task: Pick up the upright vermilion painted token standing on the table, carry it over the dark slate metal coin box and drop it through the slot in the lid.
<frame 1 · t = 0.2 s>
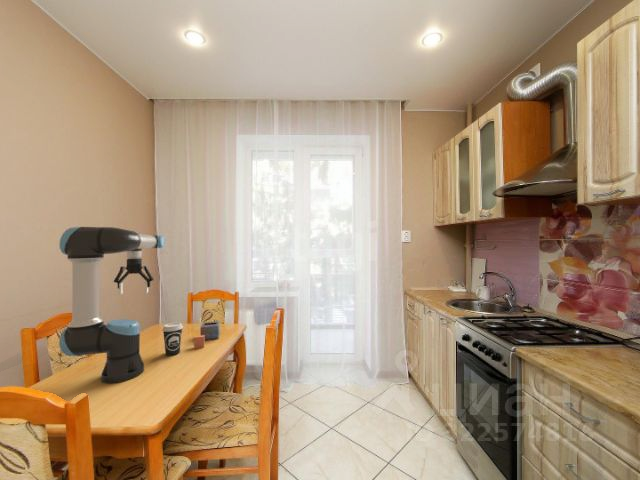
hand: (134, 293, 160), 28 cm above the table, fingers open, 13 cm apart
token: (199, 347, 147), on the table
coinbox: (210, 336, 163), on the table
coffee cup: (172, 353, 138), on the table
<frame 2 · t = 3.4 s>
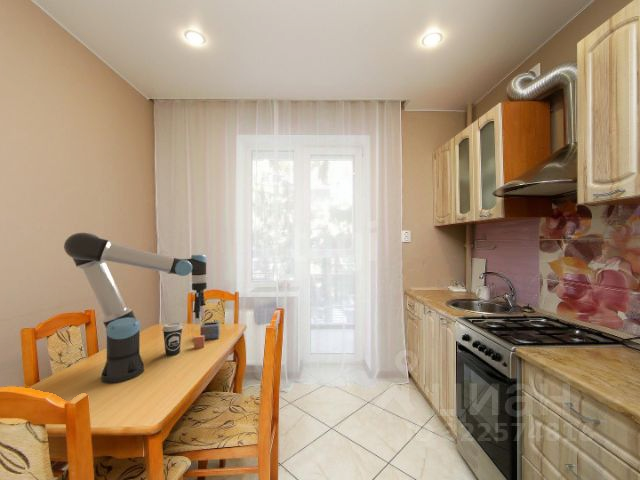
hand: (199, 320, 147), 15 cm above the table, fingers open, 13 cm apart
nothing on the table moved.
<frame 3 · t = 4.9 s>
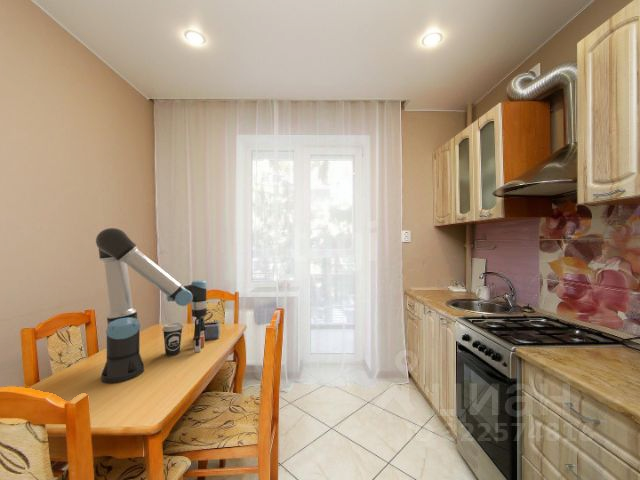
hand: (199, 346, 147), 0 cm above the table, fingers open, 13 cm apart
nothing on the table moved.
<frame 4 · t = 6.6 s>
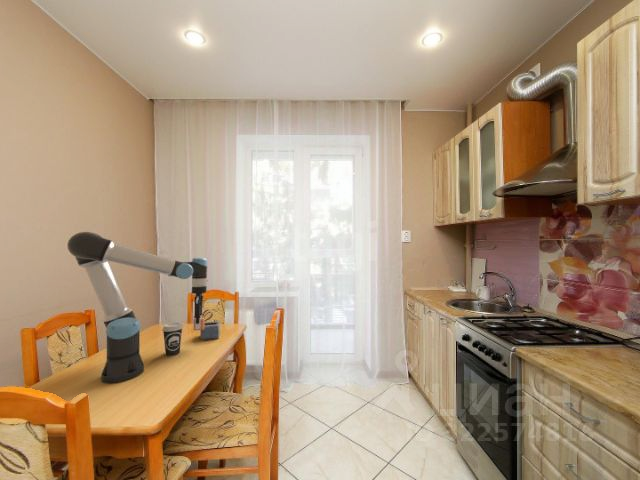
hand: (198, 328, 146), 10 cm above the table, fingers closed on token, 2 cm apart
token: (198, 329, 146), point 10 cm above the table, touching gripper
everything else where it was.
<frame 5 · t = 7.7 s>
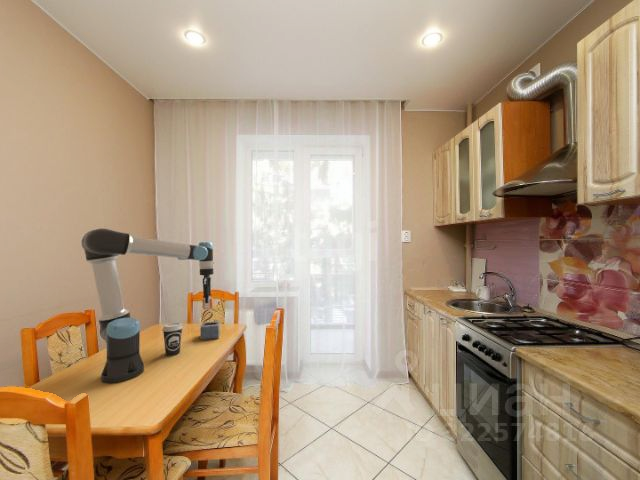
hand: (207, 307, 157), 20 cm above the table, fingers closed on token, 2 cm apart
token: (208, 308, 157), point 19 cm above the table, touching gripper
everything else where it was.
when the fingers open (10 cm above the table, at t = 9.2 s): token drops 8 cm, resting on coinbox.
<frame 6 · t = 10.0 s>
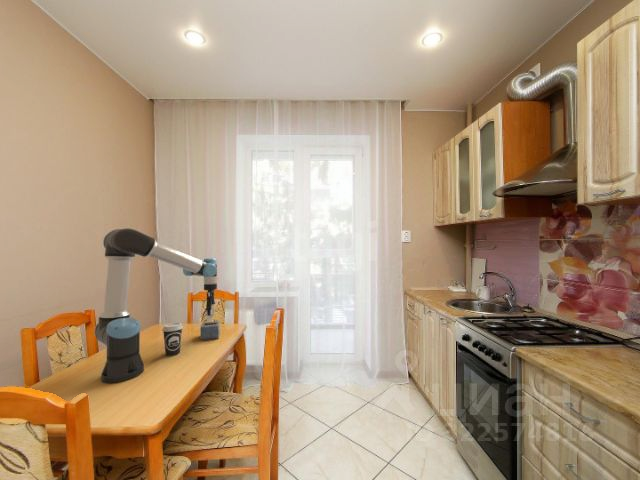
hand: (210, 317, 163), 12 cm above the table, fingers open, 13 cm apart
token: (211, 335, 163), point 1 cm above the table, touching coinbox
everything else where it was.
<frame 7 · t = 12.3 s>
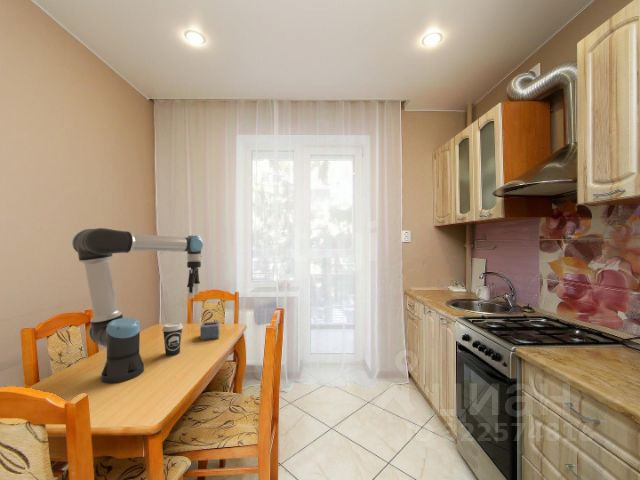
hand: (193, 296, 160), 26 cm above the table, fingers open, 13 cm apart
nothing on the table moved.
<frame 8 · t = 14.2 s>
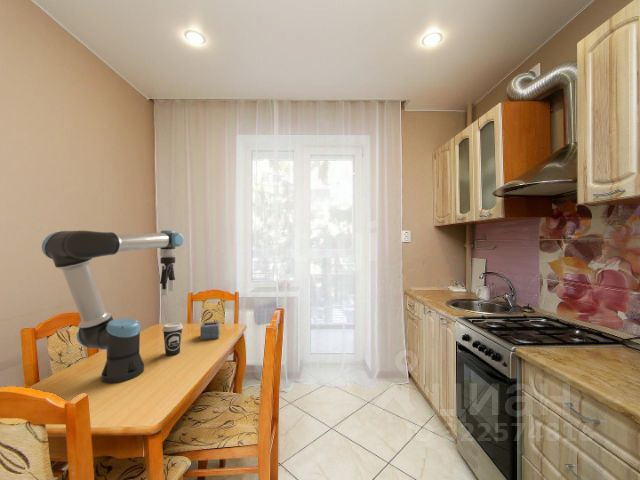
hand: (167, 293, 155), 29 cm above the table, fingers open, 13 cm apart
nothing on the table moved.
at the end: token inside the target area on the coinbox (0.4 cm from its centre), point 0.6 cm above the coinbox's base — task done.
